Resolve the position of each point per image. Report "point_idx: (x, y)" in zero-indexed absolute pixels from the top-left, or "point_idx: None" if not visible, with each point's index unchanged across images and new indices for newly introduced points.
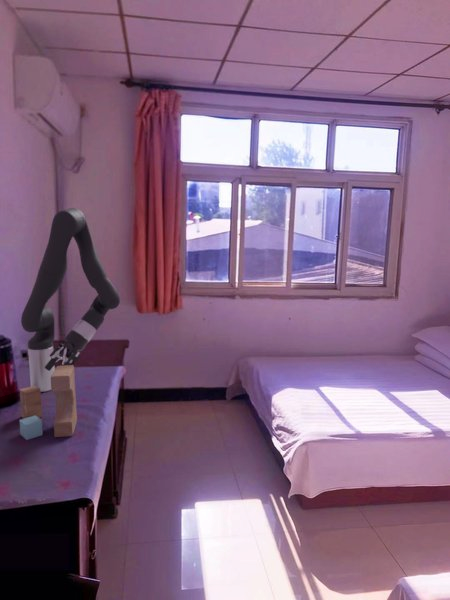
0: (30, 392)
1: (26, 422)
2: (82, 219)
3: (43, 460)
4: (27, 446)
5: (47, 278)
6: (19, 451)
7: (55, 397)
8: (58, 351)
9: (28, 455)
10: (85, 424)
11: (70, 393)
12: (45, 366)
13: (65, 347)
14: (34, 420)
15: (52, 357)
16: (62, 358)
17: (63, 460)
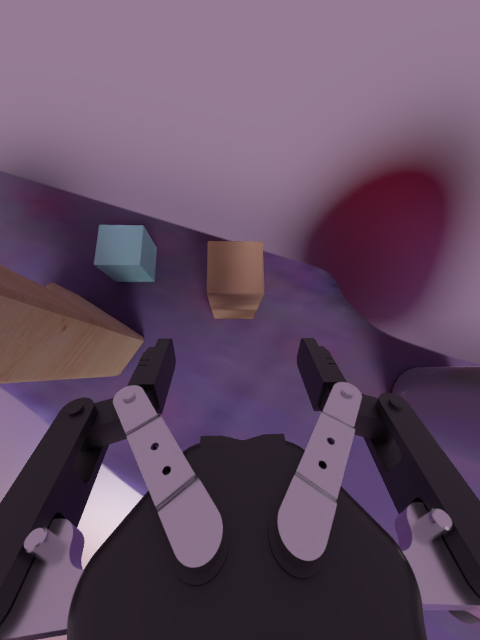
0: (207, 258)
1: (113, 232)
2: None
3: (3, 239)
4: (89, 238)
5: None
6: (81, 220)
7: (42, 286)
8: (321, 454)
9: (49, 226)
10: (83, 386)
11: None
12: (310, 341)
13: (296, 573)
14: (108, 250)
15: (334, 393)
16: (157, 415)
17: None
